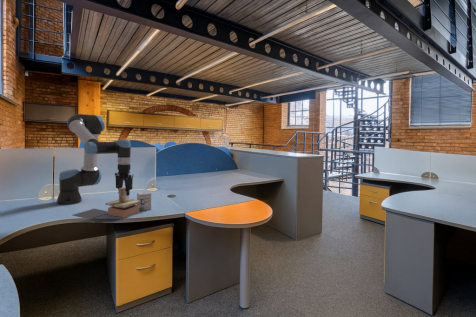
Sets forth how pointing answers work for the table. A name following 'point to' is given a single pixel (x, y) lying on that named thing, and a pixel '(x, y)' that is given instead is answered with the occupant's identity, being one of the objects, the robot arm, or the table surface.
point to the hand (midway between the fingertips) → (124, 199)
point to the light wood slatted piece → (122, 200)
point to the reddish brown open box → (123, 211)
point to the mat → (91, 213)
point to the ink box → (144, 200)
